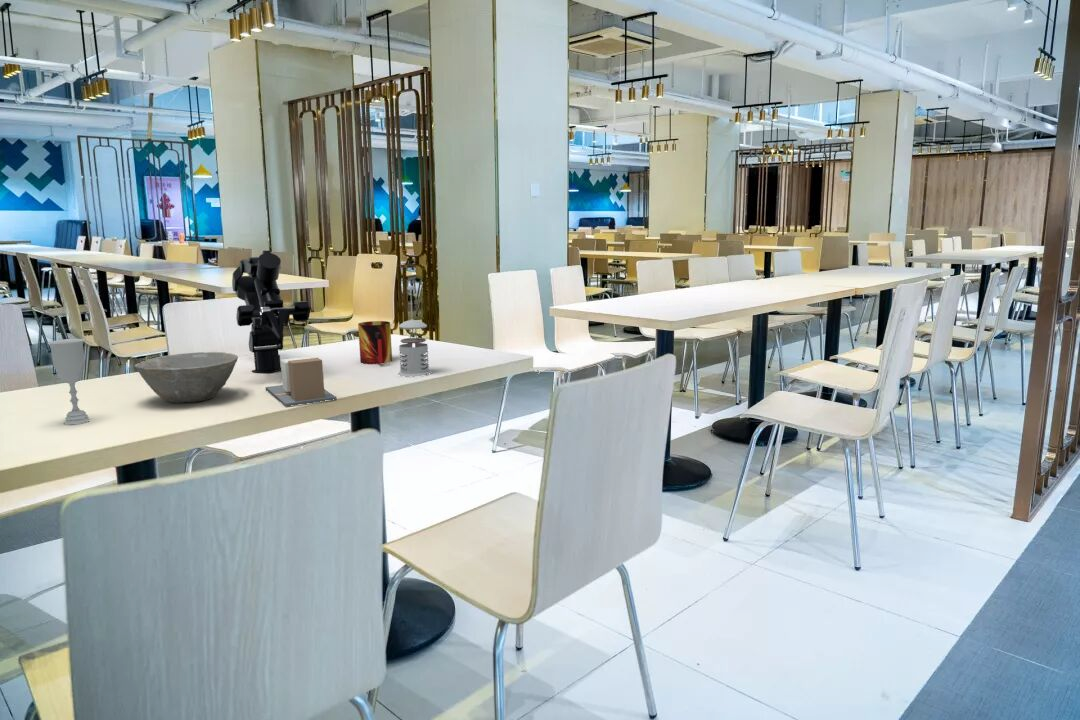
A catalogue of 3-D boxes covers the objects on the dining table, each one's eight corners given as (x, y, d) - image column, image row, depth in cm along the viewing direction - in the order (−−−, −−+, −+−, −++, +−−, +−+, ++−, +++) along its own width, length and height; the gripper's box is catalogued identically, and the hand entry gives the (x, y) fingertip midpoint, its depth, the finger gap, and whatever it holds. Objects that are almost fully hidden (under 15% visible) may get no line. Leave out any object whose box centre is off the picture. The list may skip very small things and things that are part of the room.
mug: (380, 367, 221) (378, 327, 219) (354, 362, 230) (351, 323, 228) (406, 362, 228) (404, 323, 226) (380, 357, 237) (378, 320, 235)
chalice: (70, 418, 168) (59, 339, 164) (101, 416, 168) (91, 338, 165) (51, 426, 160) (40, 344, 157) (84, 425, 161) (73, 343, 158)
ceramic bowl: (143, 395, 189) (138, 356, 188) (240, 386, 198) (236, 349, 196) (134, 415, 169) (129, 372, 168) (242, 403, 178) (239, 363, 176)
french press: (396, 377, 205) (391, 287, 201) (397, 369, 217) (393, 284, 212) (432, 376, 207) (428, 286, 202) (431, 368, 218) (428, 282, 213)
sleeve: (282, 388, 186) (280, 359, 185) (311, 384, 190) (309, 356, 188) (287, 391, 182) (285, 362, 180) (317, 387, 185) (315, 359, 184)
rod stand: (265, 390, 193) (262, 352, 191) (312, 384, 199) (309, 347, 197) (285, 407, 174) (282, 365, 172) (336, 400, 180) (333, 359, 179)
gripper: (299, 309, 215) (312, 352, 208) (230, 314, 206) (241, 359, 199) (304, 283, 207) (317, 327, 200) (233, 287, 198) (244, 333, 191)
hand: (280, 337), depth 198 cm, fingers closed
